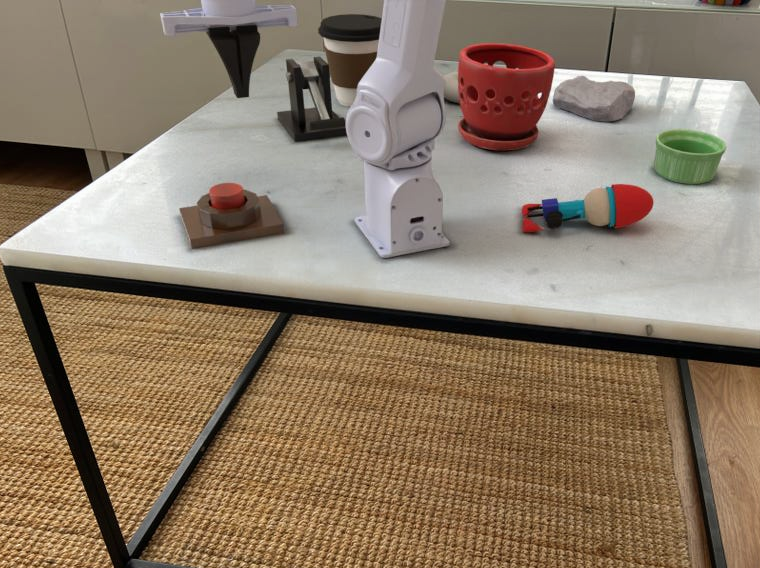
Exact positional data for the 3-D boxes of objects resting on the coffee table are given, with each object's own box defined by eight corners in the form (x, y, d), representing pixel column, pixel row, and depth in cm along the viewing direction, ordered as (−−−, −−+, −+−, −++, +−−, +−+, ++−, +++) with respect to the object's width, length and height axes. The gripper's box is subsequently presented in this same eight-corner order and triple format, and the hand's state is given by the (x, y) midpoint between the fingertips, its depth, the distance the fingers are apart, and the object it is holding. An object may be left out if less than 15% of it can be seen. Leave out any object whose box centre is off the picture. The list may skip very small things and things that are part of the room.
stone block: (612, 135, 112) (637, 106, 117) (614, 106, 109) (639, 77, 114) (544, 122, 117) (571, 94, 123) (543, 94, 114) (571, 67, 119)
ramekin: (638, 162, 100) (644, 130, 97) (696, 157, 101) (704, 127, 99) (669, 189, 93) (677, 156, 90) (731, 183, 95) (740, 151, 92)
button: (241, 195, 81) (239, 180, 80) (248, 208, 79) (246, 193, 78) (209, 199, 80) (206, 185, 79) (214, 213, 78) (212, 198, 77)
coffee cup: (354, 86, 122) (351, 9, 115) (405, 100, 117) (404, 21, 110) (309, 102, 115) (302, 21, 108) (360, 118, 110) (357, 34, 103)
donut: (433, 105, 116) (494, 109, 115) (433, 83, 114) (495, 87, 113) (445, 86, 124) (503, 91, 123) (445, 66, 122) (504, 70, 120)
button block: (268, 204, 86) (264, 180, 84) (284, 233, 80) (281, 208, 78) (181, 217, 82) (175, 193, 80) (192, 249, 77) (186, 224, 75)
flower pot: (480, 163, 98) (485, 71, 90) (441, 130, 107) (443, 45, 100) (562, 150, 102) (574, 62, 95) (518, 120, 111) (525, 38, 104)
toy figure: (524, 248, 82) (659, 234, 80) (521, 207, 79) (659, 192, 78) (522, 223, 88) (646, 209, 87) (518, 184, 86) (647, 169, 84)
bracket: (349, 136, 104) (345, 69, 98) (295, 142, 101) (288, 74, 96) (329, 113, 111) (324, 50, 105) (277, 119, 108) (270, 54, 103)
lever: (344, 131, 100) (346, 119, 98) (309, 136, 99) (310, 123, 97) (322, 72, 104) (323, 59, 102) (287, 76, 102) (288, 62, 100)
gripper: (281, -43, 82) (293, 79, 90) (147, -38, 77) (173, 91, 85) (297, -32, 77) (308, 96, 85) (155, -26, 72) (181, 110, 80)
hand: (241, 95), depth 85 cm, fingers closed
